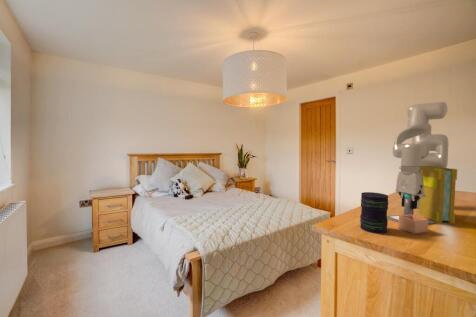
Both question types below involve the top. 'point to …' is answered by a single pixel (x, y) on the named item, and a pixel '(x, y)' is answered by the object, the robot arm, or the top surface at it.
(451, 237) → the top surface
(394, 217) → the writing mat
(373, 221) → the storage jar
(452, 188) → the book
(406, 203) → the cylinder
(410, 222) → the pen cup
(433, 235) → the top surface
